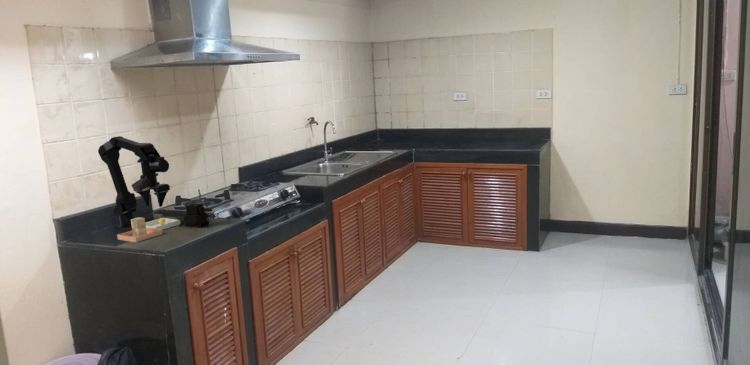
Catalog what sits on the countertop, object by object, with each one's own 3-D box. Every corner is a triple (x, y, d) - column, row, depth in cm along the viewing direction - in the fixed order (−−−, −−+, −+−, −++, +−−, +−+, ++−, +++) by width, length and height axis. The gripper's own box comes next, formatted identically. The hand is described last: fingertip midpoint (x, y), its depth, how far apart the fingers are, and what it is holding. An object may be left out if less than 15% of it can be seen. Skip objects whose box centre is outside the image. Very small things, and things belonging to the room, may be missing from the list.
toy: (208, 229, 263) (205, 207, 261) (183, 228, 269) (180, 206, 267) (219, 225, 270) (216, 203, 268) (194, 224, 276) (191, 203, 274)
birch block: (133, 237, 257) (130, 219, 256) (141, 235, 260) (138, 217, 259) (139, 238, 255) (136, 220, 253) (147, 235, 258) (144, 217, 256)
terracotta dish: (118, 240, 256) (117, 234, 256) (144, 232, 266) (143, 227, 266) (136, 243, 249) (135, 237, 248) (162, 235, 259) (161, 229, 259)
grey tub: (138, 230, 272) (138, 224, 272) (163, 222, 282) (162, 217, 282) (156, 232, 265) (155, 227, 264) (180, 225, 275) (179, 219, 275)
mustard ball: (157, 225, 277) (156, 218, 276) (163, 223, 279) (162, 217, 279) (161, 225, 275) (160, 219, 274) (167, 223, 277) (166, 217, 277)
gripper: (120, 174, 265) (125, 209, 268) (146, 176, 255) (152, 211, 257) (141, 170, 274) (146, 203, 277) (168, 171, 264) (173, 205, 267)
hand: (154, 206), depth 269 cm, fingers open, 9 cm apart
